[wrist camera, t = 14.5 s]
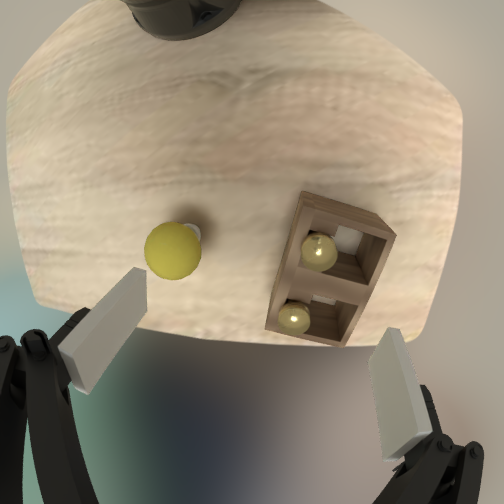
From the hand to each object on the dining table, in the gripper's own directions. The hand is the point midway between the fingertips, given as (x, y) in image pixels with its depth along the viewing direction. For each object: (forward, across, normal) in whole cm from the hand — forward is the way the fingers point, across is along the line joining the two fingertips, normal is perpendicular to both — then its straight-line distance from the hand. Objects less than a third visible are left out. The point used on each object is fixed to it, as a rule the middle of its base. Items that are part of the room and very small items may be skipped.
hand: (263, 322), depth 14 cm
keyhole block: (+22, +6, -6) cm, 24 cm away
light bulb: (+23, -11, -6) cm, 26 cm away
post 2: (+22, +4, -1) cm, 23 cm away
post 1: (+22, +4, -9) cm, 24 cm away
